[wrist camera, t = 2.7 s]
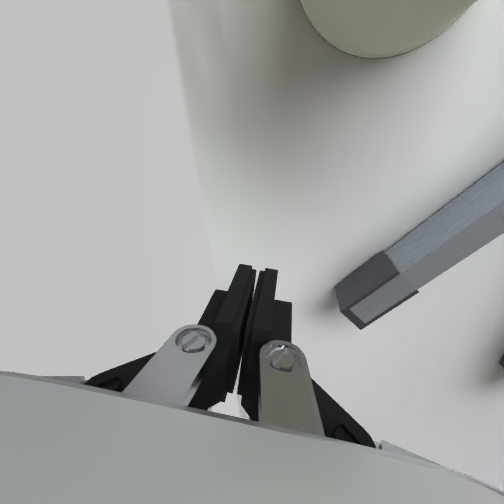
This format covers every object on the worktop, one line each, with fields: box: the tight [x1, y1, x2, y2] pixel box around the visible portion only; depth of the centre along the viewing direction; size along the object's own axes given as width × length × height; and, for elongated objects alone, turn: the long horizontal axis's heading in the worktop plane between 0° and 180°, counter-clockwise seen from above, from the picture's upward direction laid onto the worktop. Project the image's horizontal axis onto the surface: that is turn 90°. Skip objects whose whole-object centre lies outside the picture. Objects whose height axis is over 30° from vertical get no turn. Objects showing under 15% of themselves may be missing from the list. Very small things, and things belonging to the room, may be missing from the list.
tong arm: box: [335, 162, 504, 330], centre depth 14 cm, size 18×2×3 cm, turn 139°
